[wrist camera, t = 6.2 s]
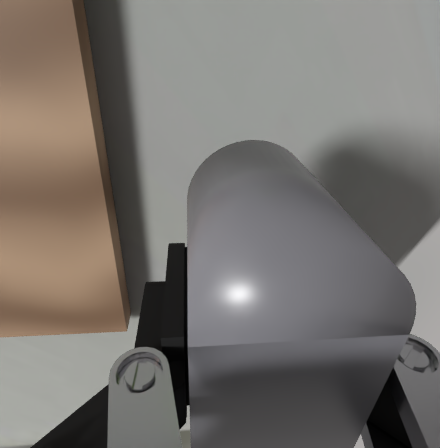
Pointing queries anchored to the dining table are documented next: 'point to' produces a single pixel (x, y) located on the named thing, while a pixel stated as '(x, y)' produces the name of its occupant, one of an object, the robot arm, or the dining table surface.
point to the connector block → (284, 307)
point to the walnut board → (54, 179)
